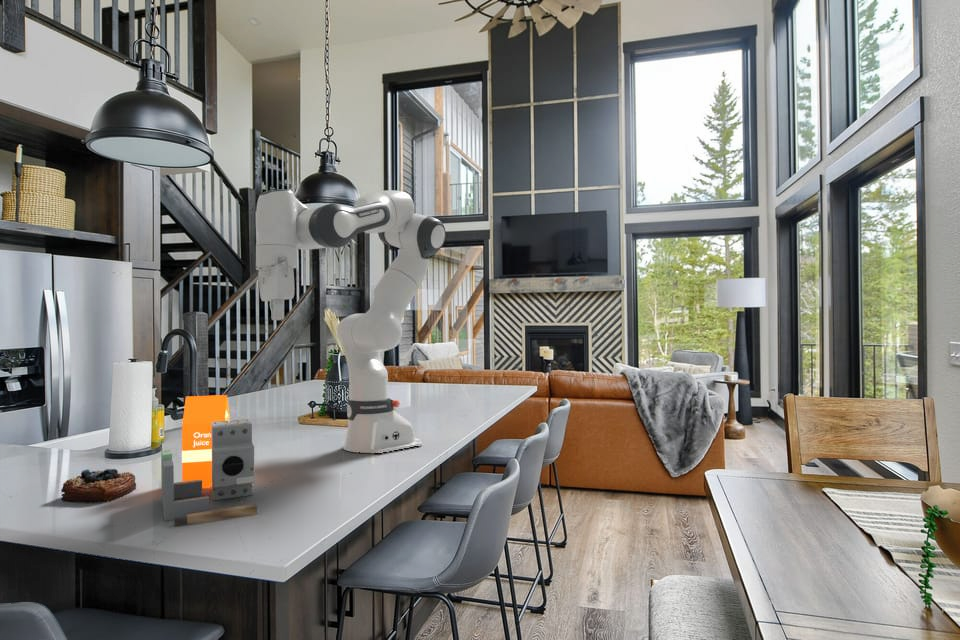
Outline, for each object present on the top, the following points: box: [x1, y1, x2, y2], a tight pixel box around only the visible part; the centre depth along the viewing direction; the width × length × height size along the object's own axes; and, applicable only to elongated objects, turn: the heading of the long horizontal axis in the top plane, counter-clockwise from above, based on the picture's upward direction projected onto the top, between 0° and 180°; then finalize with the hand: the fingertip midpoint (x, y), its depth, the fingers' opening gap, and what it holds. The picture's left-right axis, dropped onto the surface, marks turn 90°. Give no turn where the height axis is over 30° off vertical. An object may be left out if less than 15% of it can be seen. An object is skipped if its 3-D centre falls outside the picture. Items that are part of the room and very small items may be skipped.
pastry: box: [60, 468, 137, 504], centre depth 121 cm, size 11×12×6 cm
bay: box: [160, 449, 210, 522], centre depth 114 cm, size 8×15×11 cm, turn 31°
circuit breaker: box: [211, 418, 255, 501], centre depth 120 cm, size 8×14×15 cm, turn 27°
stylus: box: [174, 503, 258, 527], centre depth 107 cm, size 14×2×2 cm, turn 119°
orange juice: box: [181, 394, 231, 489], centre depth 129 cm, size 8×9×20 cm
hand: (276, 320), depth 131 cm, fingers closed
